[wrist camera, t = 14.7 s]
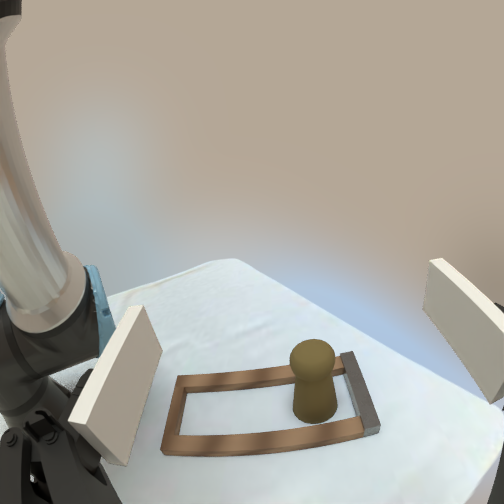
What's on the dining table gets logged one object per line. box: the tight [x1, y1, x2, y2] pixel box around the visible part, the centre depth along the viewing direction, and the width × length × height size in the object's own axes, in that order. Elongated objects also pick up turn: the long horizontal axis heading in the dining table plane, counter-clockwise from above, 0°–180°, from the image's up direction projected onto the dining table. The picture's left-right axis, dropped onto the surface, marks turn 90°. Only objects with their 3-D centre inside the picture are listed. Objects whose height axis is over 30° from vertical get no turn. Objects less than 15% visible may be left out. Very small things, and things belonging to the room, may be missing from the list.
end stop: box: [340, 351, 381, 437], centre depth 34 cm, size 2×14×2 cm, turn 1°
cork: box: [290, 339, 337, 424], centre depth 32 cm, size 6×6×11 cm
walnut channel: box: [160, 356, 364, 456], centre depth 35 cm, size 25×14×2 cm, turn 91°
